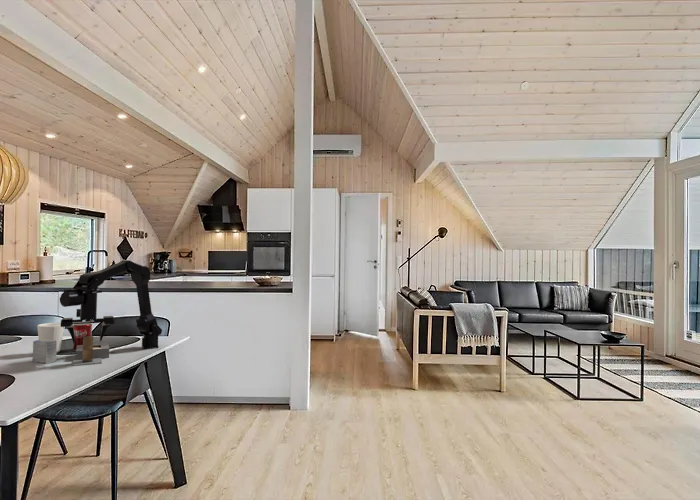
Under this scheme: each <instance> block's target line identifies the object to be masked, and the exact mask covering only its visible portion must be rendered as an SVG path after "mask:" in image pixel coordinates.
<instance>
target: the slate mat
mask: <svg viewBox="0 0 700 500" xmlns="http://www.w3.org/2000/svg"><path fill="white" fill-rule="evenodd" d="M97 364H103V361H102V358H96V359H93V361H92V362H86V363H82V360H76V359H74V360H72V367H76V366H87V365H97Z"/></svg>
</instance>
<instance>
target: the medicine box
mask: <svg viewBox="0 0 700 500" xmlns="http://www.w3.org/2000/svg"><path fill="white" fill-rule="evenodd" d="M32 342H33V343H32V362H34V363H41V364H50V363H55V362H57V354H56V348H57V341H55V340H47V339H41V340H39V339H37V340H33V341H32Z"/></svg>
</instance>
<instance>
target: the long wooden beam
mask: <svg viewBox="0 0 700 500" xmlns="http://www.w3.org/2000/svg"><path fill="white" fill-rule="evenodd" d="M93 344H94V335H92V336H86V337H83V360H82V363H86V362H92V361H93Z"/></svg>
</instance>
